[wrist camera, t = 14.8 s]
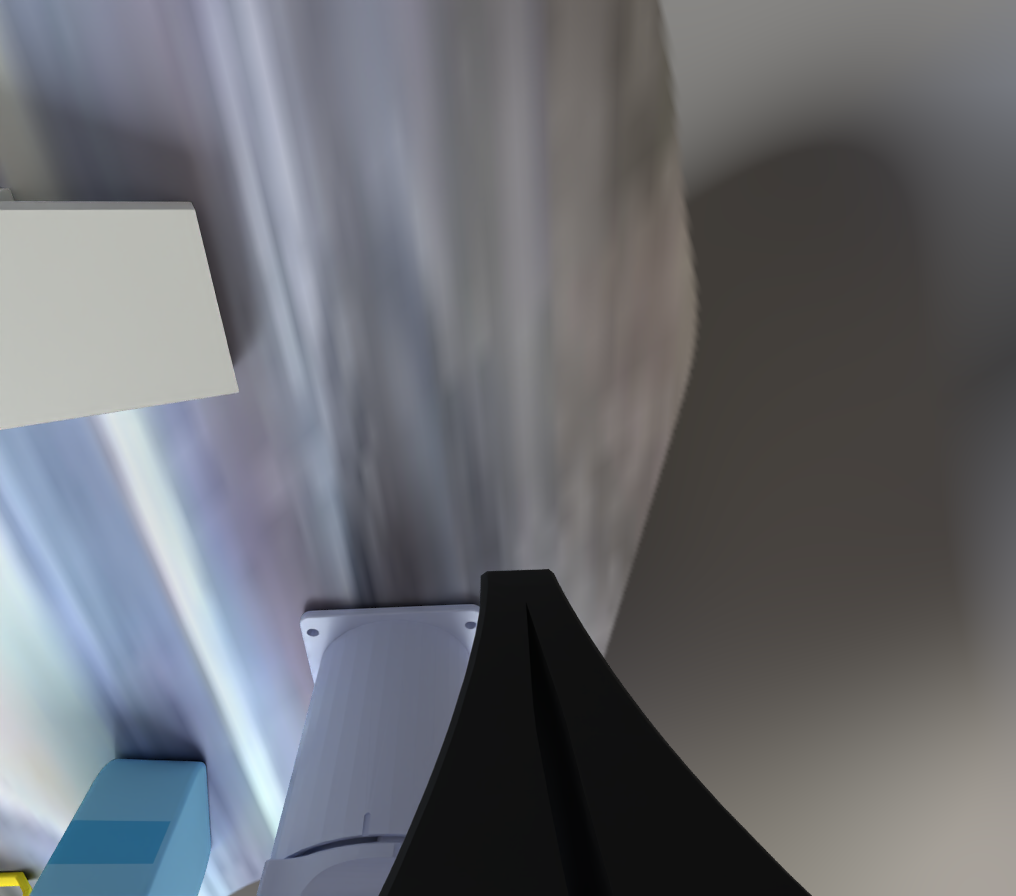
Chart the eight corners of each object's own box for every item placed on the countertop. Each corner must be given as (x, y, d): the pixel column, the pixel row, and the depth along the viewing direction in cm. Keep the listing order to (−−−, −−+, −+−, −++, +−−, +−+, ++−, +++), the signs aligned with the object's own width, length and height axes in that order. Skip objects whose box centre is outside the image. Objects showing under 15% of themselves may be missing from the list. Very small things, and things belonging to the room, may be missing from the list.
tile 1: (239, 392, 15) (-151, 453, 11) (231, 369, 17) (-116, 417, 13) (194, 209, 13) (-325, 211, 9) (190, 202, 14) (-258, 199, 10)
